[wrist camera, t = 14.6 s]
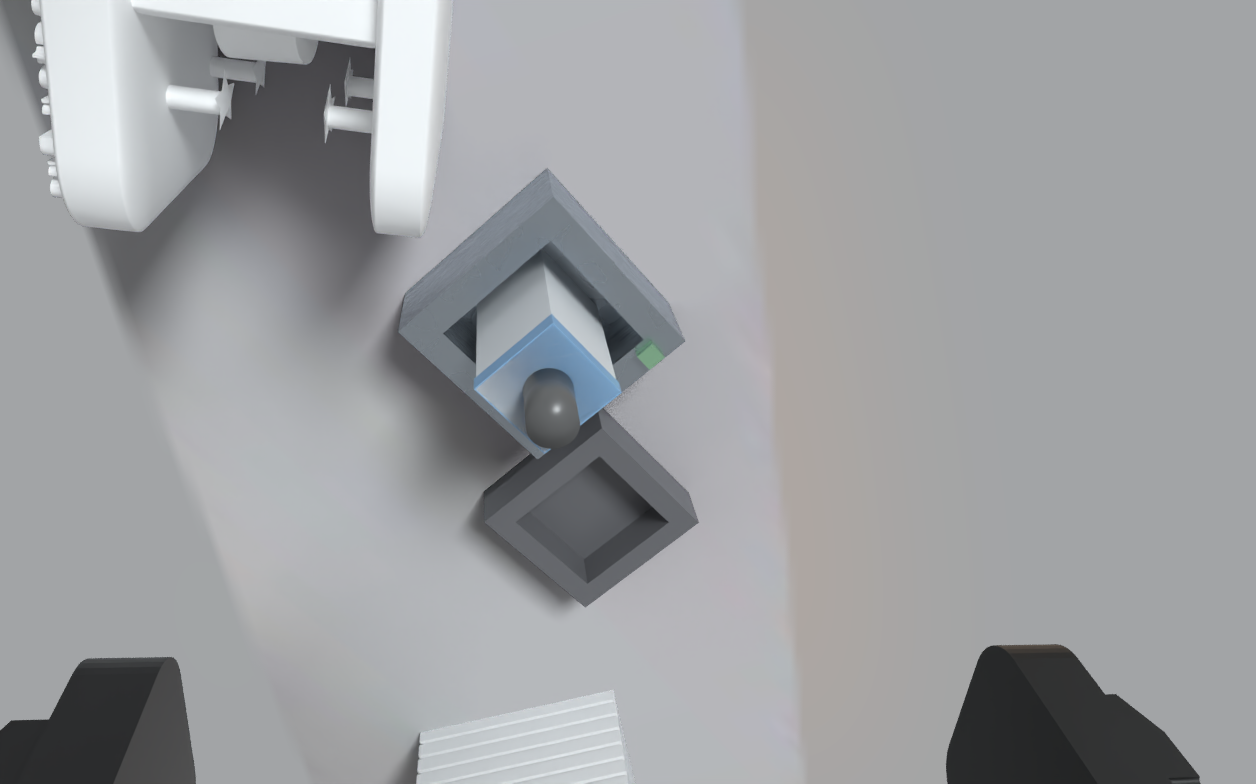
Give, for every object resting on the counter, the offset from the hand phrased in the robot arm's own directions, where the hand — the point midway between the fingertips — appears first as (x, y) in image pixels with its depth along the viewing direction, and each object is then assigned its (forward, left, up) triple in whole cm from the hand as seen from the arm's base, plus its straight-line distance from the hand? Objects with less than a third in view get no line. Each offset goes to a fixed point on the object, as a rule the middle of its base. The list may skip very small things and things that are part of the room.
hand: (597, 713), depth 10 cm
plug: (+7, -5, -32) cm, 33 cm away
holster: (+16, -10, -32) cm, 37 cm away
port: (+7, -5, -32) cm, 33 cm away
